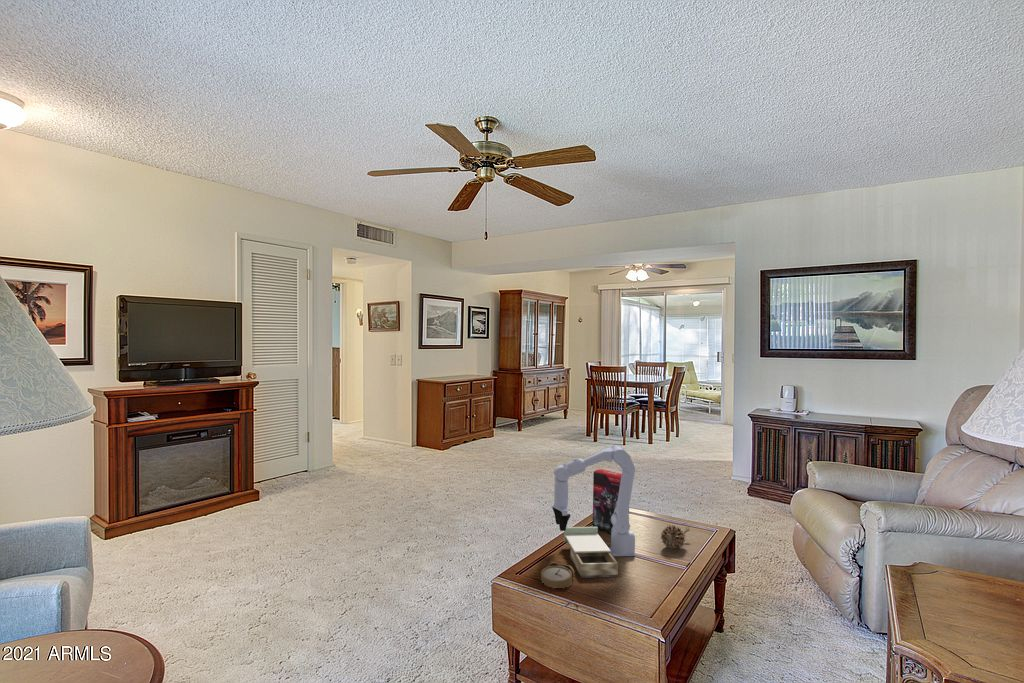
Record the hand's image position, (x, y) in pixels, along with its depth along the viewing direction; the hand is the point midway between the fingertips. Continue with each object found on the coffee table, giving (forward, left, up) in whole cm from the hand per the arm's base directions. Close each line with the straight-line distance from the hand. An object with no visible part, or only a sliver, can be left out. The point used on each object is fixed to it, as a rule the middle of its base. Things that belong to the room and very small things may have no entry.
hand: (560, 527), depth 214 cm
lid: (-10, +5, -7) cm, 13 cm away
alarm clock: (+6, +26, -11) cm, 29 cm away
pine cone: (-52, -3, -10) cm, 53 cm away
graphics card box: (-29, -23, -10) cm, 38 cm away
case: (-10, +16, -10) cm, 21 cm away
